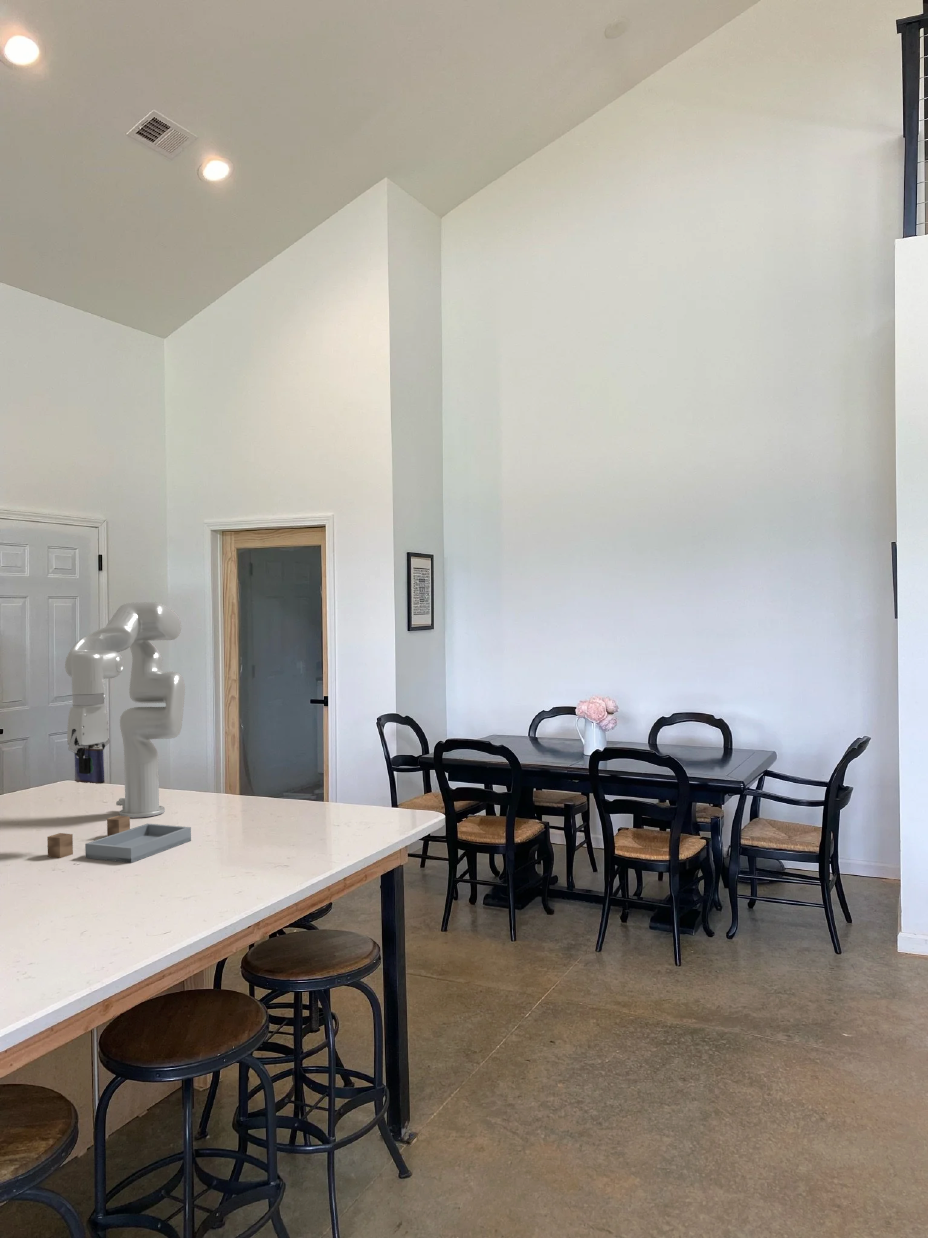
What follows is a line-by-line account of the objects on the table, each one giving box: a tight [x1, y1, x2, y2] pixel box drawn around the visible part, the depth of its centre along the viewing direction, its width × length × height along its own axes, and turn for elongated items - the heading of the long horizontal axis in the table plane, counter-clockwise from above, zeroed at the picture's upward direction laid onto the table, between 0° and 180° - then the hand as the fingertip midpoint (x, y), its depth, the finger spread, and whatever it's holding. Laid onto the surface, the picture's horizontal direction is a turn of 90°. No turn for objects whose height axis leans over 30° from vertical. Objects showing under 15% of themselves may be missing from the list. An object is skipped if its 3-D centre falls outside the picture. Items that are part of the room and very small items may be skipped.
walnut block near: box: [47, 832, 74, 859], centre depth 225 cm, size 4×4×5 cm
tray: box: [84, 823, 192, 864], centre depth 230 cm, size 14×22×4 cm, turn 158°
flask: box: [74, 745, 106, 785], centre depth 234 cm, size 9×3×11 cm, turn 66°
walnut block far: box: [106, 815, 131, 837], centre depth 244 cm, size 4×4×5 cm
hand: (90, 771), depth 234 cm, fingers closed on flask, 2 cm apart
